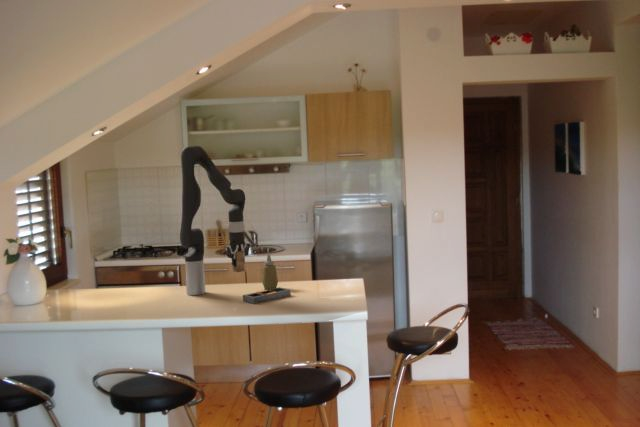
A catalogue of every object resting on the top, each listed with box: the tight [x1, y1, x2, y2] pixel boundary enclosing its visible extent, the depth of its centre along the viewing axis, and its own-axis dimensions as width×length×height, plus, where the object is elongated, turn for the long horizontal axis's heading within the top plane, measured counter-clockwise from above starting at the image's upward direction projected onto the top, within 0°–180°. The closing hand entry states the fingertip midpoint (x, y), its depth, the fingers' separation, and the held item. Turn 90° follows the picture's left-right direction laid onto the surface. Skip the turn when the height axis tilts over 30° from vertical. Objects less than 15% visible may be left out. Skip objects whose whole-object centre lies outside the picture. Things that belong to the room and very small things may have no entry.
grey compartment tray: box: [242, 287, 292, 305], centre depth 340 cm, size 9×22×3 cm, turn 131°
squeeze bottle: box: [262, 253, 279, 290], centre depth 360 cm, size 8×8×18 cm
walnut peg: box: [232, 251, 245, 273], centre depth 341 cm, size 4×4×10 cm
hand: (238, 265), depth 342 cm, fingers closed on walnut peg, 4 cm apart
